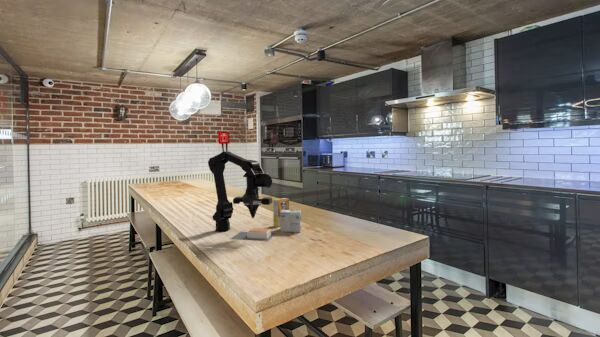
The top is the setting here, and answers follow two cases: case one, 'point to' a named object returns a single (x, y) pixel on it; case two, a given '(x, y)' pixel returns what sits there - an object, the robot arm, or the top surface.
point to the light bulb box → (290, 220)
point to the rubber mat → (244, 237)
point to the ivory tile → (259, 233)
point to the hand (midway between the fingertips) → (253, 217)
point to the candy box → (279, 209)
